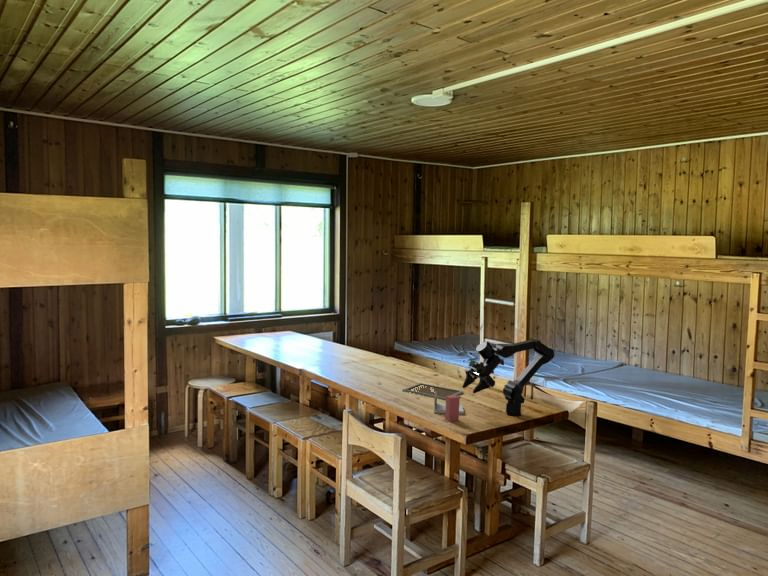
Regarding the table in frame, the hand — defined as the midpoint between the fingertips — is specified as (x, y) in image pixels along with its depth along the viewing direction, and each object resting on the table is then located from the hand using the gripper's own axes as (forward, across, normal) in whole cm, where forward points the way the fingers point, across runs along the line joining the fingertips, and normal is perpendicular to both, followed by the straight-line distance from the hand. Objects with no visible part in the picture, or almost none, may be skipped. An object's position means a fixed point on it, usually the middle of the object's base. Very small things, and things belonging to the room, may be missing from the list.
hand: (468, 390), depth 264 cm
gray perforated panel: (+5, -45, +15) cm, 48 cm away
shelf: (+11, -14, +8) cm, 20 cm away
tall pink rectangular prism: (+15, 0, +4) cm, 16 cm away
